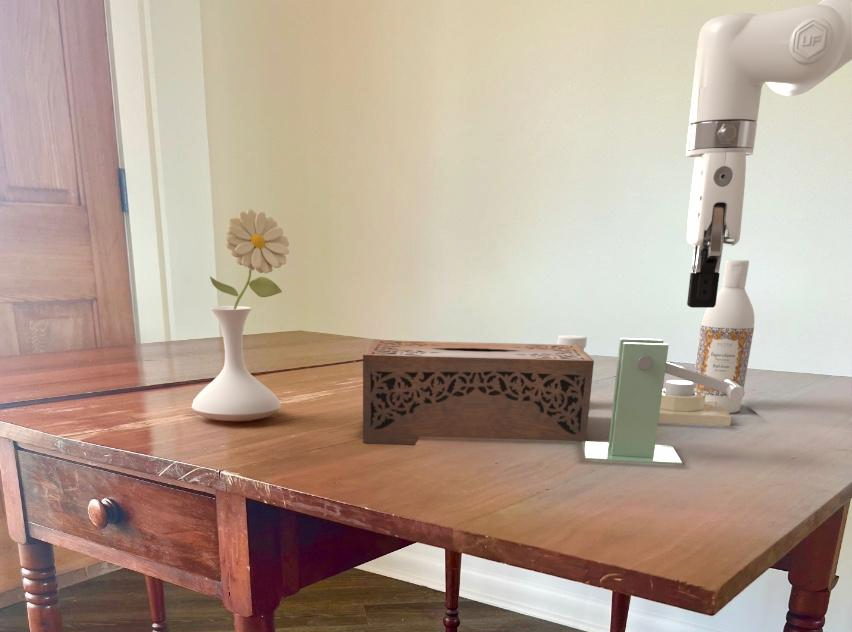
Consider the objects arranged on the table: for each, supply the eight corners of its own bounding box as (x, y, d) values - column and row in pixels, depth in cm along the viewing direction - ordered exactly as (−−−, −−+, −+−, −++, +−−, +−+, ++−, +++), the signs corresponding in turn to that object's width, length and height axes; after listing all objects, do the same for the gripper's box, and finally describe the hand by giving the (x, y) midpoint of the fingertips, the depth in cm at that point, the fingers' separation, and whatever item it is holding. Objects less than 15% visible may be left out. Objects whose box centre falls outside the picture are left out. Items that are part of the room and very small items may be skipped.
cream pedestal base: (714, 418, 119) (719, 388, 117) (729, 433, 109) (734, 401, 108) (625, 414, 120) (628, 384, 119) (632, 428, 111) (635, 397, 109)
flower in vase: (192, 429, 106) (174, 206, 97) (193, 411, 117) (177, 208, 107) (298, 426, 109) (291, 209, 99) (290, 409, 119) (283, 210, 109)
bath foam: (687, 412, 122) (709, 260, 114) (690, 404, 128) (711, 258, 120) (739, 416, 120) (765, 261, 112) (740, 407, 126) (765, 260, 118)
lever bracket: (670, 455, 98) (687, 338, 93) (681, 474, 91) (699, 347, 86) (581, 451, 99) (592, 335, 94) (584, 468, 92) (597, 344, 87)
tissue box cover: (363, 443, 101) (362, 355, 97) (374, 418, 114) (374, 340, 111) (584, 449, 100) (593, 360, 96) (570, 424, 113) (577, 344, 109)
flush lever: (729, 398, 93) (739, 377, 92) (738, 407, 89) (749, 384, 88) (622, 362, 93) (631, 340, 92) (626, 369, 89) (635, 346, 88)
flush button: (690, 394, 115) (692, 380, 114) (694, 398, 111) (697, 385, 111) (662, 392, 115) (664, 379, 115) (666, 397, 112) (668, 383, 111)
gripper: (769, 134, 94) (744, 312, 101) (740, 147, 108) (721, 302, 115) (697, 136, 95) (678, 311, 102) (678, 148, 109) (662, 302, 116)
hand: (700, 306), depth 108 cm, fingers closed
